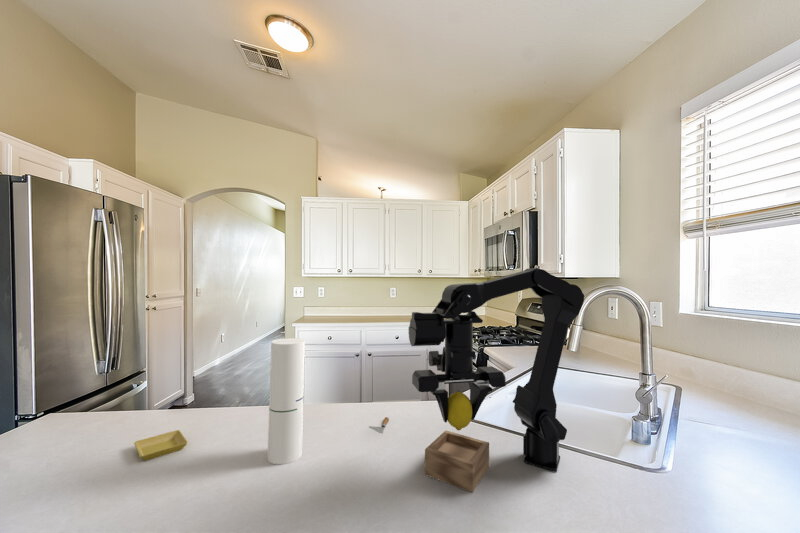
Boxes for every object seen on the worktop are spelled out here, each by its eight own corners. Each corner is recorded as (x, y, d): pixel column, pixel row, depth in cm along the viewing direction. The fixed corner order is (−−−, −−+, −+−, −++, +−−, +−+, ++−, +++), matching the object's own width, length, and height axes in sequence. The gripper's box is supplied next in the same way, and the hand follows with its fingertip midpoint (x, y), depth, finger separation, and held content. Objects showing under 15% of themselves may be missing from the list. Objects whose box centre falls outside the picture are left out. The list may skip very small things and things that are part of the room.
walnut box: (489, 466, 69) (489, 442, 69) (472, 492, 60) (472, 464, 60) (445, 452, 74) (445, 430, 74) (424, 474, 65) (425, 449, 66)
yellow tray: (188, 451, 74) (188, 442, 74) (139, 466, 67) (139, 456, 67) (178, 438, 80) (179, 429, 80) (133, 451, 73) (133, 441, 73)
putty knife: (358, 445, 79) (379, 447, 78) (358, 440, 79) (379, 441, 78) (372, 419, 92) (389, 420, 91) (372, 415, 92) (389, 416, 91)
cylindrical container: (308, 451, 74) (311, 340, 75) (285, 467, 67) (288, 345, 68) (284, 444, 77) (287, 337, 78) (260, 459, 70) (264, 342, 71)
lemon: (474, 437, 65) (474, 396, 65) (446, 436, 65) (447, 395, 65) (469, 424, 70) (469, 386, 70) (443, 424, 70) (443, 386, 71)
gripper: (481, 336, 78) (482, 402, 77) (406, 338, 74) (405, 408, 73) (506, 345, 67) (507, 422, 66) (419, 349, 63) (419, 431, 62)
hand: (458, 420), depth 67 cm, fingers closed on lemon, 5 cm apart
